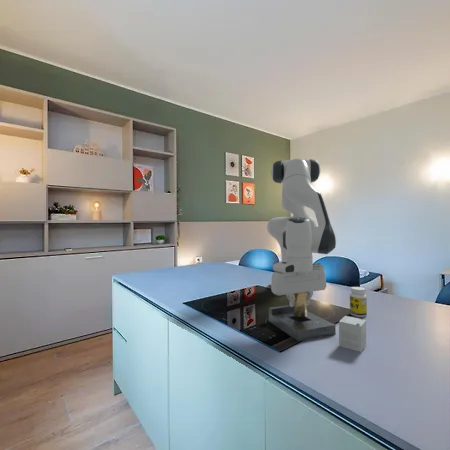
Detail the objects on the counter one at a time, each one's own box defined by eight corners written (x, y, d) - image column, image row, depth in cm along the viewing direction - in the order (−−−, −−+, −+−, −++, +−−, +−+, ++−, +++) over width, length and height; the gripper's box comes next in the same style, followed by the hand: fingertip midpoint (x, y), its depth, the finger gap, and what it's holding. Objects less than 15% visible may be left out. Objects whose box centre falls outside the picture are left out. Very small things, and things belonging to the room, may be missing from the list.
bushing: (298, 317, 89) (298, 293, 89) (290, 313, 93) (290, 290, 93) (309, 315, 90) (309, 291, 90) (301, 311, 94) (301, 288, 94)
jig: (269, 321, 98) (268, 307, 98) (301, 316, 102) (301, 303, 102) (298, 341, 81) (298, 325, 81) (335, 334, 85) (335, 318, 85)
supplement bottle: (346, 313, 105) (346, 287, 105) (357, 311, 107) (357, 285, 107) (358, 318, 99) (358, 290, 99) (370, 316, 101) (370, 289, 101)
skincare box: (344, 339, 82) (344, 315, 82) (366, 344, 78) (366, 319, 78) (338, 346, 77) (338, 321, 77) (361, 352, 73) (361, 325, 73)
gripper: (318, 261, 98) (318, 299, 98) (268, 265, 91) (269, 306, 91) (330, 264, 92) (330, 304, 92) (278, 268, 85) (279, 311, 85)
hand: (299, 305), depth 91 cm, fingers closed on bushing, 4 cm apart
